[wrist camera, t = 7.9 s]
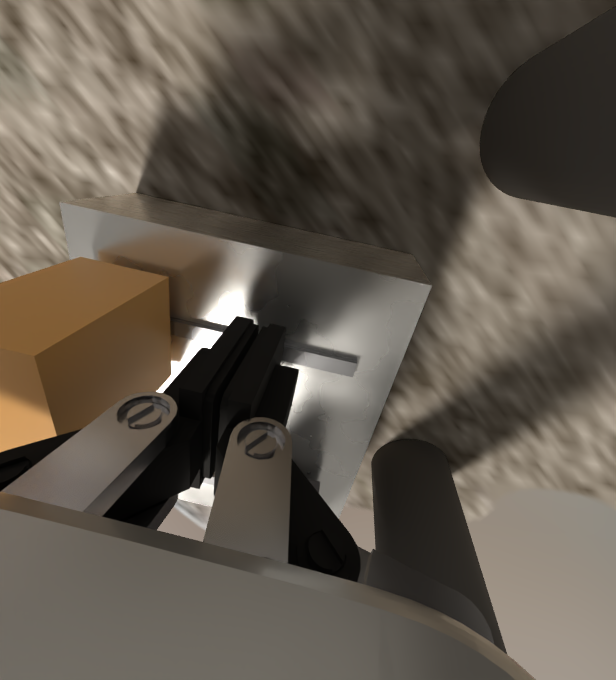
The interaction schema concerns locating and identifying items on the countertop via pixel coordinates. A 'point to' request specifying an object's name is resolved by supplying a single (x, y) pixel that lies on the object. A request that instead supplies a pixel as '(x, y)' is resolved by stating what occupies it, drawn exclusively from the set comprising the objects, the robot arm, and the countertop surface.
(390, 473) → the post
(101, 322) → the tab orange
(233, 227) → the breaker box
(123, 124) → the countertop surface
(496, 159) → the post
